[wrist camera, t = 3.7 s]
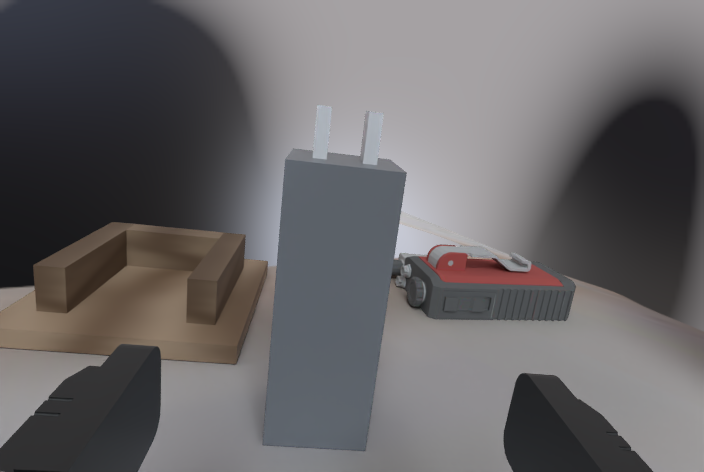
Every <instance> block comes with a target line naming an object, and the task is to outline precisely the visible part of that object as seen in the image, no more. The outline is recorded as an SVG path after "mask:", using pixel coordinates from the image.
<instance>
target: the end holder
mask: <svg viewBox="0 0 704 472" xmlns="http://www.w3.org/2000/svg"><path fill="white" fill-rule="evenodd" d="M244 251H245V235H242V234H232V233H222V232H212V231H201V230H191V229H180V228H170V227H160V226H148V225H138V224H128V223H118V222H112V223H110V224H108V225H106V226H104V227H103V228H101V229H99V230H97V231H95V232H93V233H92V234H90V235H88V236H86V237H84V238H82V239H81V240H79V241H77V242H75V243H73V244H71V245H70V246H68V247H66V248H64V249H62V250H60V251H58V252H57V253H55V254H53V255H51V256H49V257H47V258H46V259H44V260H42V261H40V262H38V263H36V264H35V265H33V266H34V282H35V290H34V291H33V292H31V293H29V294H28V295H26V296H25V297H23V298H22V299H20V300H18V301H17V302H15V303H14V304H12V305H10V306H9V307H7V308H6V309H4V310H3V311H1V312H0V347H3V348H17V349H31V350H45V351H58V352H72V353H86V354H100V355H111V354H112V353H113V352H114V350H115V349H116V348H117V347H118V346H119V345H120V344H132V345H146V346H158V347H159V349H160V352H161V359H170V360H184V361H198V362H212V363H226V364H236V363H237V360H238V357H239V354H240V351H241V348H242V345H243V342H244V339H245V336H246V334H247V331H248V328H249V325H250V322H251V319H252V316H253V313H254V310H255V307H256V304H257V301H258V298H259V295H260V292H261V289H262V286H263V284H264V281H265V278H266V275H267V266H268V262H267V261H260V260H249V259H244Z"/></svg>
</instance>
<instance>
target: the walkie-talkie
mask: <svg viewBox="0 0 704 472" xmlns="http://www.w3.org/2000/svg"><path fill="white" fill-rule="evenodd" d="M467 256H471V257H481V258H492V259H493V260H486V259H467ZM510 256H511V257H512V259H511V260H505V259H499V258H498V257H497V256H496V255H494V254H493V253H491V252H489V251H488V250H486V249H485V248H483V247H477V246H460V247H456V246H455V245H437V246H434V247H433V248H432V249H431V250H430V251H429V253H428V255H416V254H406V253H400V255H399V260H394V261H393V268H392V274H391V275H397V277H396V286H401V287H402V288H405V290H406V291H407V296H408V301H409V303H410V305H411V306H413V307H416V306H419V307H420V308H421V309H422V311H423V312H424V313H425V314H426V315H427V317H430V318H433V319H461V320H493V319H497V320H500V319H504V320H532V321H534V320H539V321H541V320H545V321H547V320H551V321H554V320H558V321H560V320H564V321H566V320H567V318H568V315H569V311H570V307H571V304H572V300H573V296H574V292H575V288H576V286H575V284H574V282H573V281H572V280H570V279H568V278H567V277H565V276H563V275H561V274H559V273H558V272H556V271H554V270H552V269H550V268H549V267H547V266H545V265H543V264H541V263H539V262H530V261H529V260H527V259H525V258H523V257H522V256H520V255H518V254H516V253H511V254H510Z"/></svg>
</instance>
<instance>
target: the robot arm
mask: <svg viewBox="0 0 704 472" xmlns="http://www.w3.org/2000/svg"><path fill="white" fill-rule="evenodd" d="M160 406H161V352H160V349H159V347H158V346H146V345H132V344H120V345H119V346H118V347H117V348H116V349H115V350H114V352H113V353H112V354H111V355H110V356H109V357H108V359H107V360H106V361H105V362H104V363H103V364H102V366H101V367H99V366H88V367H86V368H85V369H83V370H81V371H79V372H78V373H76V374H74V375H72V376H70V377H69V378H67V379H65V380H64V381H63V382H62V383H61V384H60V385H59V387H58V388H57V389H56V390H55V391H54V392H53V393H52V394H51V395H50V396H49V399H48V401H47V400H45V401H44V402H43V404H42V405H41V406H40V407H39V408H38V409H37V410H36V411H35V414H34V416H30V417H29V418H28V420H27V421H26V422H25V423H24V424H23V425H22V426H21V427H20V428H19V429H18V430H17V431H16V432H15V433H14V434H13V435H12V437H11V438H10V439H9V440H8V441H7V442H6V443H5V444H4V445H3V446H2V447H1V448H0V472H138V470H139V468H140V466H141V464H142V462H143V460H144V458H145V456H146V454H147V452H148V450H149V448H150V446H151V444H152V442H153V440H154V437H155V435H156V431H157V428H158V424H159V418H160ZM504 449H505V454H506V457H507V460H508V462H509V464H510V466H511V468H512V470H513V472H653V471H652V470H651V469H650V467H649V466H648V465H647V464H646V463H645V462H644V461H643V460H642V459H641V458H640V456H639V455H638V454H637V453H636V452H635V451H632V450H631V447H630V445H629V444H628V443H627V442H626V441H625V440H624V439H623V438H622V437H621V436H618V432H617V431H616V430H615V429H614V428H613V427H612V426H611V424H610V423H609V422H608V421H607V420H606V419H605V418H604V417H603V416H602V415H601V414H600V413H598V412H597V411H596V410H594V409H593V408H591V407H590V406H588V405H587V404H585V403H584V402H583V401H581V400H580V399H577V398H576V397H575V396H574V395H573V394H572V393H571V391H570V390H569V389H568V388H567V387H566V386H565V385H564V383H563V382H562V381H561V380H560V379H559V378H558V377H557V376H554V375H541V374H527V373H522V374H520V375H519V377H518V378H517V380H516V383H515V388H514V392H513V396H512V400H511V404H510V408H509V413H508V417H507V421H506V425H505V429H504Z"/></svg>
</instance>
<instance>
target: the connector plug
mask: <svg viewBox="0 0 704 472" xmlns="http://www.w3.org/2000/svg"><path fill="white" fill-rule="evenodd" d="M331 112H332V107H328V106H319V105H318V106H317V115H316V126H315V137H314V147H313V151H310V150H301V149H293V150H292V151H291V152H290V154H289V155H288V156H287V158H286V159H285V170H284V182H283V196H282V207H281V220H280V234H279V245H278V259H277V270H276V283H275V296H274V308H273V321H272V333H271V346H270V359H269V371H268V384H267V396H266V409H265V422H264V434H263V445H270V446H288V447H306V448H324V449H341V450H359V451H365V449H366V442H367V436H368V429H369V422H370V415H371V409H372V402H373V395H374V389H375V382H376V375H377V368H378V362H379V355H380V348H381V342H382V335H383V328H384V321H385V315H386V308H387V301H388V294H389V288H390V281H391V274H392V268H393V261H394V254H395V247H396V240H397V234H398V227H399V221H400V214H401V207H402V200H403V194H404V187H405V180H406V172H405V171H404V170H402V169H401V168H400V167H399V166H397V165H396V164H395V163H394V162H392V161H391V160H389V159H380V158H378V152H379V145H380V138H381V130H382V122H383V115H384V114H383V113H377V112H369V111H368V112H367V111H366V114H365V123H364V131H363V139H362V147H361V156H354V155H345V154H336V153H327V150H328V141H329V131H330V122H331Z"/></svg>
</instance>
